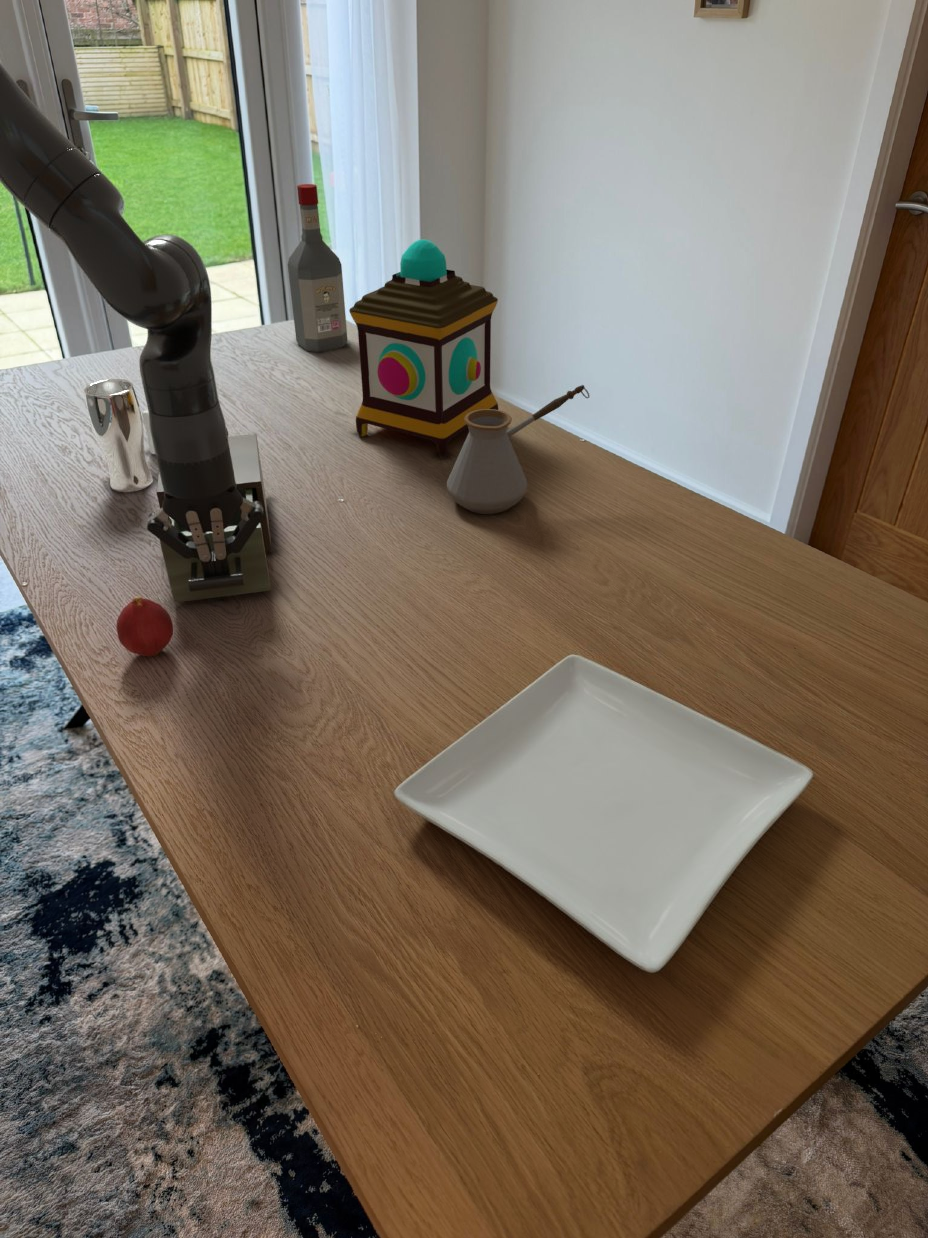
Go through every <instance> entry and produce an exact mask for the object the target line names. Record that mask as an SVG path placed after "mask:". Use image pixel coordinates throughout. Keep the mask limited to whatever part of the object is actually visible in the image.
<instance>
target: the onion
mask: <svg viewBox="0 0 928 1238" xmlns="http://www.w3.org/2000/svg"><path fill="white" fill-rule="evenodd" d="M116 633H117V638H118V640H119V643H120V645H122V646H123V647H124V648H125V650H127V651H128V652H130V653H133V654H135V655H138V656H144V657H147V658H151V657H152V658H153V657H155V656H157V655H158V654H159V653H160V652H162V651H163V650H164V649H165V648H166V647H167V646H168V645H169V643H170V642H171V640H172V637H173V635H174V625H173V620H172V617H171V615H170V614H169V611H168V610H166V609H165V608H164V607H163V606H162V605H161V604H160V603H158V602H155V601H154V600H151V599H149V598H144V597H142V596H140V595H136V596H134V597H133V598H132V600H131V601H130V602H128V604H127V605H125V606H124V607H123V608H122V610H121V611H120V613H119V615H118V617H117V620H116Z"/></svg>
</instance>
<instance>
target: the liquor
mask: <svg viewBox="0 0 928 1238" xmlns="http://www.w3.org/2000/svg"><path fill="white" fill-rule="evenodd" d="M296 188H297V189H296V190H297V199H298V200H297V201H298V205H299V211H300V221H301V236H300V237H301V241H300V242H299V243H298V245H297V246H296V248H294V250H293V252H292V254H291V255H290V256H289V258H288V261H287V270H288V271H287V272H288V279H289V288H290V297H291V307H292V315H293V322H294V323H293V324H294V332H295V341H296V343H297V344H298V345H299V346H300V347H301V348H302V349H304V350H305V351H307V352H314V353H321V352H322V353H323V352H327V351H333V350H337V349H338V350H339V349H342V348H343V347H345V346H346V345H347V343H348V329H347V316H346V305H345V304H346V302H345V293H344V291H345V290H344V279H343V267H342V265H343V264H342V263H341V260H340V258H339V256H338V255H337V254H336V253H335V252H334V251H333V250H332V249H331V248H330V247H329V245H328V244H327V243H326V242H325V241H324V240H323V235H322V233H321V223H320V214H319V206H318V204H319V196H318V195H319V194H318V185H316V184H313V183H304V184H302V183H301V184H298V185H296Z"/></svg>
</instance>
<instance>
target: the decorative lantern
mask: <svg viewBox="0 0 928 1238" xmlns="http://www.w3.org/2000/svg"><path fill="white" fill-rule="evenodd" d="M445 256H446V255H445V254H444V253H443V251H442V250H441V249H440V248H439V247H438V245H437V244H435V243H434V242H433V241H430V240H429V239H422V238H421V239H417V240H415V241H414V242H413V243H411V244H410V245H409V246H408V247H407V249H406V250H405V251H404V252H403V254H402V255H401V258H400V263H399V265H400V266H399V268H400V269H399V270H400V271H399V272H396V273H394V274H392V275H391V277H392V278H391V279H390V280H388V281H386V282H385V283H384V286H382V287H379V288H378V289H376V290H373V291H370V292H369V293H366V294H364V295H363V296H362V297H361V299H359V300H357V301H355V303H354V305H353V306H352V307H350V308H349V314H350V316H351V318H352V320H353V321H354V323H355V325H356V329H357V335H358V336H357V337H358V338H357V339H358V347H359V348H358V350H359V351H358V352H359V363H360V364H359V365H360V376H361V377H360V378H361V391H362V401H361V404H360V406H359V409H358V411H357V414H356V416H355V427H356V432H357V434H358V436H360V437H365V436H367V435H368V428H369V427H368V426H374V427H378V428H383V429H385V430H389V431H394V432H398V433H402V434H405V435H409V436H412V437H417V438H420V439H425V440H429V441H431V442H433V443H434V444H435V445H436V448H437V454H438V456H439V457H440V458H441V459H444V458H446V457H447V454H448V449H449V443H450V441H451V440H452V439H453V438H454V437H455V436H457V435H459V434H461V433H462V432H463V431H465V430H466V429H467V428H468V425H467V424H466V423H465V421H464V418H465V416H466V415H467V414H468V413H470V412H472V411H475V410H481V409H495V410H499V404H498V401H497V398H496V397H495V395H494V393H493V392H492V389H491V388H492V387H491V346H492V345H491V343H492V341H491V340H492V338H491V336H492V316H493V313H494V311H495V309H496V307H497V305H498V302H499V299H498V297H496V296H494V294H493V293H492V292H491V291H487V290H486V288H485V287H483V286H480V285H475V284H470V282H468V281H464V279H463V278H462V277H461V276H458V275H456V270H452V269H447V260H446V257H445Z"/></svg>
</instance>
